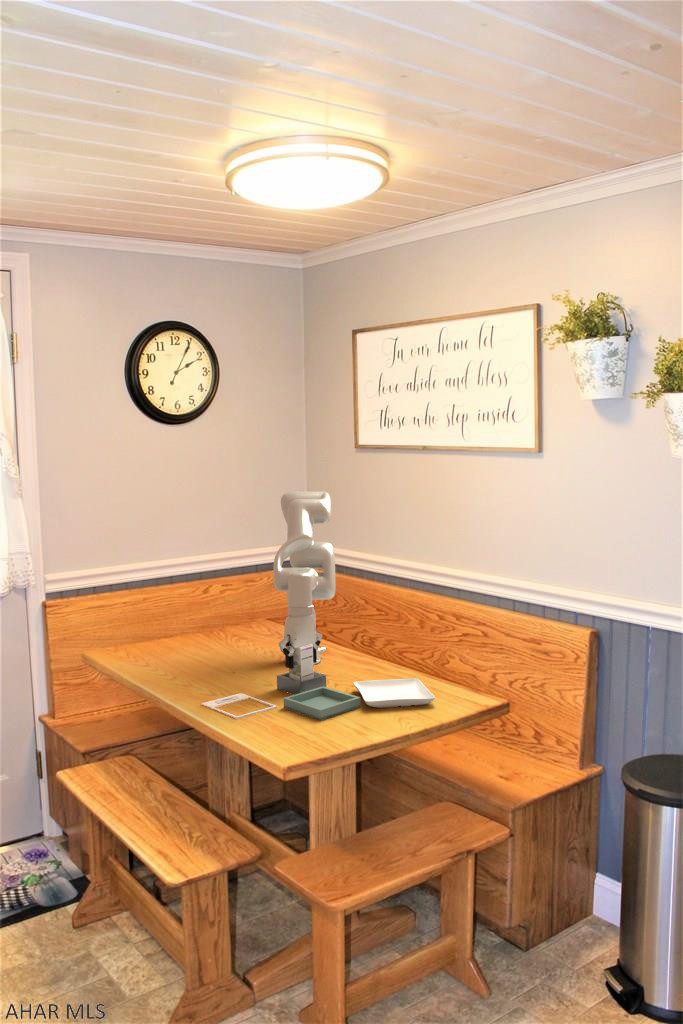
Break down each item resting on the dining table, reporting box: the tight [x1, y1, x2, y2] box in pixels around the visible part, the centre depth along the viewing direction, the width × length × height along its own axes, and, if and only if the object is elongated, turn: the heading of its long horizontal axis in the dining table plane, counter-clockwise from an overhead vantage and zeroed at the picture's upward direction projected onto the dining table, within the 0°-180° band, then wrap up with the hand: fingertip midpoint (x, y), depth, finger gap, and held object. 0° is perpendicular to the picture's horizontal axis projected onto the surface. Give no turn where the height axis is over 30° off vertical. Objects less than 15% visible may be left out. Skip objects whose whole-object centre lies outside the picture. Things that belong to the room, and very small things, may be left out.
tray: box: [283, 686, 362, 722], centre depth 251 cm, size 16×16×3 cm
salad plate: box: [352, 677, 436, 709], centre depth 260 cm, size 21×21×3 cm
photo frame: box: [200, 692, 278, 720], centre depth 254 cm, size 15×1×18 cm
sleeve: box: [276, 671, 327, 695], centre depth 270 cm, size 11×11×4 cm
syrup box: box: [288, 644, 314, 681], centre depth 269 cm, size 6×6×14 cm
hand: (301, 664), depth 269 cm, fingers open, 9 cm apart
